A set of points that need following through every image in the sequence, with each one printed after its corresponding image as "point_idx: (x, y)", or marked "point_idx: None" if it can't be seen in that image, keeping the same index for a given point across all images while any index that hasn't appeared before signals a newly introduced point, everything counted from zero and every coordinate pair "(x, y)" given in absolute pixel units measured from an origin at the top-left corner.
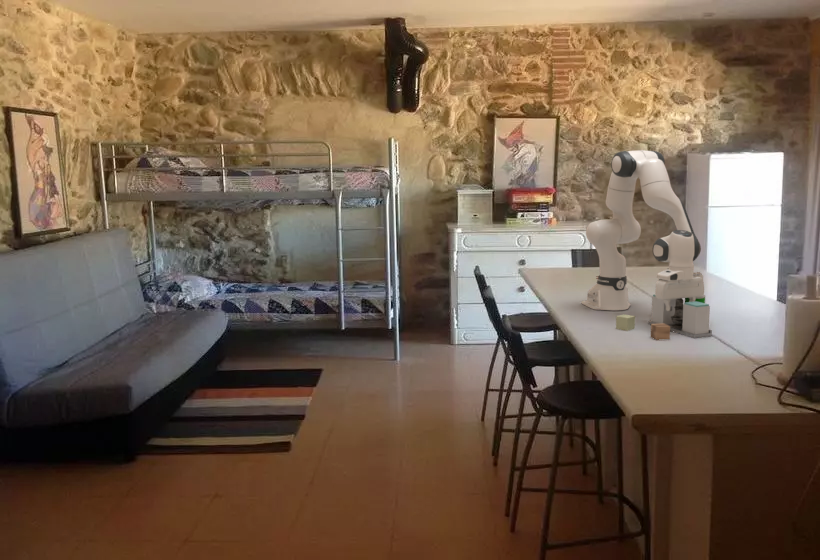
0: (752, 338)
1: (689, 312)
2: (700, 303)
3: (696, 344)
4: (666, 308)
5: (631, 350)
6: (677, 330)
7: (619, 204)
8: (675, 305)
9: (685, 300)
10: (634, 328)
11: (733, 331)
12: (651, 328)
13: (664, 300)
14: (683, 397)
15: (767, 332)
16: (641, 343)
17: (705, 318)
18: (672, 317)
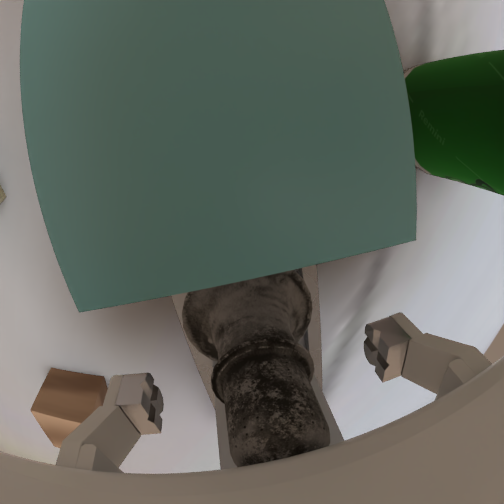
0: (400, 411)
1: None
2: None
3: (190, 461)
4: (111, 389)
5: (14, 440)
6: (191, 351)
7: None
8: (226, 390)
9: (500, 89)
10: (4, 198)
11: (435, 334)
12: (39, 399)
13: (66, 459)
14: None
15: (481, 346)
16: (26, 414)
17: None
18: (189, 323)
